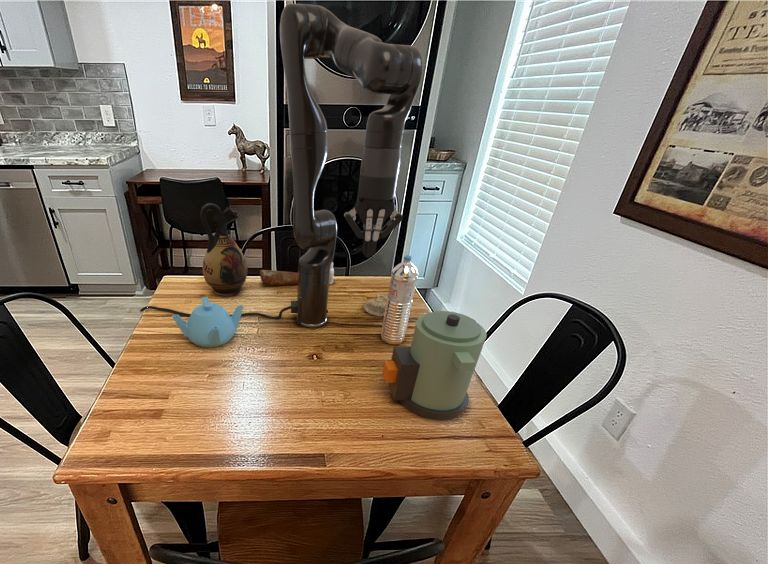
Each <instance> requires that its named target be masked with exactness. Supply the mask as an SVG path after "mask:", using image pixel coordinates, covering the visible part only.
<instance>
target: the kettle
mask: <svg viewBox="0 0 768 564" xmlns="http://www.w3.org/2000/svg"><path fill="white" fill-rule="evenodd" d="M487 336H488V335H487V331H486V329H485V327H483V326H482V325H481V324H480V323H479V322H478V321H477V320H475V319H474V318H472V317H470V316H468V315H466V314H463V313H460V312H456V311H450V310H435V311H430V312H427V313H425V314H422V315H421V316H419V317H418V318H417V319H416V322H415V327H414V331H413V335H412V340H411V343H410V346H393V349H392V355H391V359H390V361H395V363H396V365H397V368H398V374H397V378H396V383H387V385H388V388H389V391H390V392H391V396H392V398H393V401H399V403H400V404H401V405H402V406H403V407H404V408H405V409H407V410H408V411H410V412H411V413H413V414H414V415H417V416H419V417H422V418H424V419H429V420H433V421H435V420H436V421H450V420H453V419H456V418H459V417H460V416H462V415H463V414H464V412H465V411H466V409H467V406H468V404H469V394H468V389H469V386H470V383H471V380H472V378H473V376H474V373H475V370H476V367H477V364H478V361H479V359H480V356H481V353H482V350H483V348H484V345H485V342H486V339H487Z"/></svg>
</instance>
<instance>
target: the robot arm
mask: <svg viewBox="0 0 768 564" xmlns="http://www.w3.org/2000/svg"><path fill="white" fill-rule="evenodd" d="M279 40H280V41H279V42H280V50H281V58H282V64H283V65H282V66H283V71H284V80H285V84H286V85H285V87H286V95H287V108H288V121H289V122H288V127H289V128H288V129H289V142H290V143H289V145H290V158H291V167H292V168H291V169H292V191H293V193H292V194H293V195H292V196H293V197H292V203H293V204H292V230H293V236H294V241H295V243H296V244H297V246H298V247H299V248H301V249H302V250H307V249H308V250H307V252H305V253H304V254H303V255H301V257H300V258H299V259H298V267H297V268H298V270H297V273H298V284H297V293H296V300H290V305H289V306H286V307H284V308H282V309H280V311H279V313H278V315H277V316H271V315H268V314H265V313H261V312H242V314H241V317H247V316H259V317H263V318H267V319H272V320H279V319H281V318H282V316H283V313H284V312H286V311H288V310H290V314H296V325H297V326H302V327H305V328H310V329H313V328H314V329H315V328H320V327H323V326H325V325H326V324H327V319H328V318H327V317H328V314H329V309H328V303H329V290H330V288H329V287H330V284H329V278H330V266H331V263H332V262H333V261H334V259H335V252H336V243H337V236H338V224H337V219H336V216H335V215H334V213H332V211H330V210H329V209H318V210H315V209H314V207H315V206H314V201H315V200H314V199H315V193H316V192H315V191H316V188H317V184H318V181H319V179H320V177H321V175H322V172H323V170H324V167H325V165H326V162H327V158H328V150H329V148H328V147H329V145H328V124H327V120H326V118H325V115H324V113H323V111H322V109H321V107H320V105H319V103H318V102H317V100H316V98H315V97H314V94H313V93H312V90H311V87H310V86H309V83H308V78H307V73H306V67H305V60H315V59H321V58H326V59H328V58H329V59H332V60H333V62H334V64H335V66H336V67H337V69H339V70H340V71H341V72H342V73H344V74H346V75H348V76H350V77H351V78H354V79H355V80H357V82H358V83H359V84H360V86H361V87H362V88H363V89H364V90H365V91H367V92H369V93H372V94H375V95H376V94H377V95H388V97H387V99H386V102H385V104H384V106H383V107H382V108H380V109H377V110H374V111H372V112H371V113H369V115H368V117H367V121H366V129H365V137H364V147H363V152H362V156H361V162H360V171H359V181H358V188H357V189H358V190H357V197H356V201H355V202H354V204H353V208H352V209H350V210H349V211H345V212H344V213H343V217H344V219H345V221H346V222H347V224H348V225H349V227H350V228H351V229H352V231H353V233H354V234H355V236H356V237H357V239H362V247H361V252H362V254H363V255H364V257H365V258H373V256H375V255H376V253H377V245H378V242H379V240H382V239H386V238H387V237H388V236H390V234H391V233H392V232H393V231H394V230H395V229H396V227H398V225H399V224H401V222H403V220H404V215H403V214H402V213H400V212H399V211H398V210H397V209H396V204H395V197H396V189H397V185H398V178H399V173H400V167H401V166H400V165H401V152H402V145H403V144H402V143H403V137H404V131H405V124H406V121H407V119H408V116H409V115H410V112H411V109H412V106H413V103H414V101H415V99H416V96H417V94H418V91H419V88H420V85H421V82H422V78H423V72H424V59H423V55H422V52H421V51H420V49H419V48H418V47H416V46H414V45H409V44H396V43H385V42H383V41H382V39H381V38H379V37H378V36H377V35H374V34H372V33H371V32H367V31H365V30H362V29H359V28H356V27H352V26H350V25H348V24H346V23H345V22H343V21H342V20H340V19H339V18H338V17H337V16H336V15H335V14H334V13H333V12H332V11H330V10H329V9H327V8H326V7H324V6H322V5H319V4H309V3H307V4H306V3H288V4H286V5H285V7H283V10H282V11H281V14H280V22H279ZM356 215H357V216H356ZM357 217H358V218H359V219H360V221H361V222H362V230H361V229H360V227H359V226H358V225H357V223H356V219H357ZM388 218H389V220H388ZM387 220H388V221H387ZM386 221H387V222H386ZM385 222H386V223H385ZM384 223H385V224H384ZM383 224H384V225H383ZM147 307H148V308H147ZM146 310H157V311H161V312H168V313H173V314H175V315H177V314H178V315H179V316H185V317H190V315H191V313H189V312H182V311H178V310H175V309H171V308H166V307H159V306H154V305H153V306H152V305H147V306H143V307H142V308H140V310H139V312H140V313H142V312H144V311H146ZM229 315H230V316H232V314H229Z"/></svg>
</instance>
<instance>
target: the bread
mask: <svg viewBox="0 0 768 564" xmlns="http://www.w3.org/2000/svg"><path fill="white" fill-rule="evenodd" d="M259 277H260V280H261V282H262V286H263V285H265V286H286V285H287V286H289V285H290V286H291V285H298V272H296V271H295V272H294V271H284V270H271V269H260V270H259Z"/></svg>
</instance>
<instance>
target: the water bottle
mask: <svg viewBox="0 0 768 564" xmlns="http://www.w3.org/2000/svg"><path fill="white" fill-rule="evenodd" d="M412 258H413V256H412V255H408V254H406V255H404V256H403V261H401V262H399V263H397V264H396V265H395V266H394V267H393V268H392V270H391V273H390V282H389V289H388V294H387V296H388V297H387V302H386V308H385V313H384V316H383V319H382V325H381V330H380V331H381V332H380V339H381V341H383V342H384V343H385V344H388V345H394V346H395V345H401V344H403V342H404V341H405V339H406V334H407V329H408V324H409V320H410V315H411V310H412V305H413V299H414V296H415V295H414V294H415V289H416V285H417V280H418V279H419V271H418V268H417V267H416V266H415V264H413V263H412V262H411V261H412Z"/></svg>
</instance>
